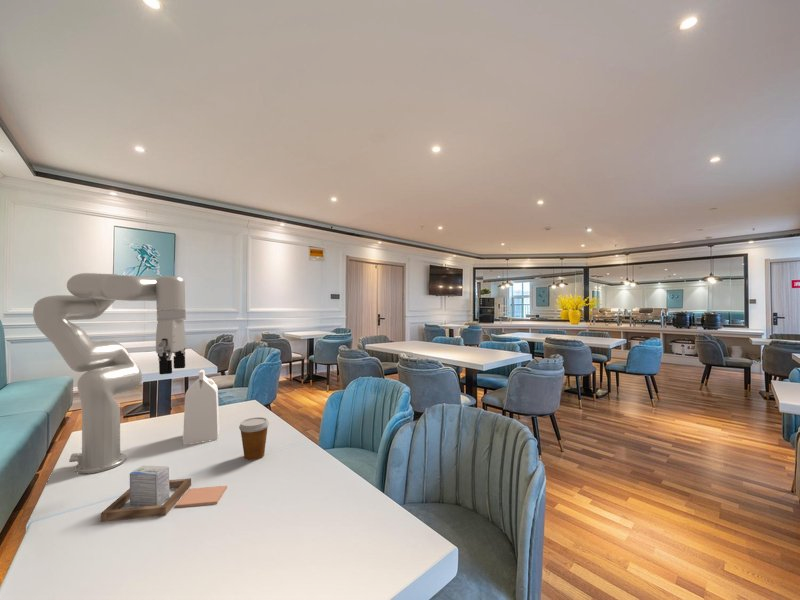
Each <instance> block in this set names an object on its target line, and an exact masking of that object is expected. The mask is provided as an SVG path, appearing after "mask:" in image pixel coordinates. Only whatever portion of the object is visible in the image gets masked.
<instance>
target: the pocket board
mask: <svg viewBox="0 0 800 600" xmlns="http://www.w3.org/2000/svg"><path fill="white" fill-rule="evenodd" d="M191 486H192V478H191V477H190V478H177V479H176V478H175V479H169V490H175V489H176V490H175V491H174V492H173V493H172V494H170V497H169V498H168V499H167V500H165V501H164V502H163V503H162V504H160V505H157V506H136V507H128V508H127V507H126V508H124V507H123V506H124V505H125V504H126V503H128V502H130V487H129V488H128V489H127V490H126V491H125V492H124V493H122V494H121V495H120V496H119V497H118V498H117V499H116V500H115V501H113V502H112V503H110V504H109V506H107V508H105V509H104V510H102V512H100V522H109V521H119V520H120V521H121V520H131V519H141V518H142V519H143V518H152V517H162V516H167V515H168V513H169V512H170V511H171V510H172V509H173V508H174V507H175V506H176V504H177V503H178V502H179V500H180V499H181V498H182V497H183V496H184V494H185V493H186V492H187V491H188V490H189V489H190V487H191Z"/></svg>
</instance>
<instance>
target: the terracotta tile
mask: <svg viewBox="0 0 800 600" xmlns="http://www.w3.org/2000/svg"><path fill="white" fill-rule="evenodd" d="M227 489H228V485H219V486H207V487H197V488H196V487H195V488H188V490H187V491H186V492H185V493H184V494H183V496H182V497H181V498H180V499H179V500H178V501H177V503H176V504H175V508H184V507H195V506H207V505H215V504H216V505H217V504H218V503H219V501H220V500H221V498H222V497H223V495H224V493H225V491H227Z"/></svg>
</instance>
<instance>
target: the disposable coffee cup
mask: <svg viewBox="0 0 800 600" xmlns="http://www.w3.org/2000/svg"><path fill="white" fill-rule="evenodd" d="M269 425H270V422H269V420H268V418H266V417H258V416H257V417H251V418H246V419H244V420H242V421H241V422H240V423H239V426H238V428H239V431H240V436H241V441H242V449H243V456H244V457H243V458H244V460H245V461H256V460H259V459H262V458H263V457H264V456H265V452H266V451H265V450H266V444H267V436H268V435H267V433H268V428H269Z"/></svg>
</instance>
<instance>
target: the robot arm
mask: <svg viewBox="0 0 800 600" xmlns="http://www.w3.org/2000/svg"><path fill="white" fill-rule="evenodd" d="M185 285H186V283H185V279H184V278H183V277H181V276H175V275H172V276H171V275H166V276H165V275H164V276H159V277H156V276H155V277H152V276H143V275H142V276H140V275H122V274H120V275H119V274H116V273H97V272H96V273H95V272H94V273H93V272H83V273H82V272H80V273H77V274H74V275H73V276H71V277H70V278H69V279H68V280H67V282H66V289H67V290H68V292H69V293H70V294H71V295H68V294H67V295H65V294H64V295H63V294H61V295H57V294H55V295H50V296H44V297H42V298H39V299H38V300H37V301H36V302H35V304H34V306H33V310H32V316H33V321H34V324H35V325H36V327H37V329H38V330H39V331H40V332H41V333H42V334H43V335H44V336H45V337H46V338H47V339H48V340H49V341H50V342H51V343H52V344H53V345H54V347H55V348H56V350H57V352H58V353H59V355H60V356H61V357H62V358H63V360H64V362H65V363H66V365H67V366H68V367H69V368H70V369H71V370H73V371H74V372H76V373H83V374H82V375H81V376H79V379H78V380H77V384H76V385H77V386H76V387H77V392H78V395H79V400H80V405H81V452H74V453H73V452H72V453H71V455H70V457H69V459H68V461H69V463H73V462H74V463H75V462H77V465H76V466H75V470H76V471H75V472H76V473H77V472H78V474H81V473H88V474H95V472H96V473H100V471H101V472H105V471H107V470H110V469H114V468H116V467H118V466H121V465H122V464H123V463H125V461H126V460H127V455H126V453H125V454H124V453H121V407H120V404H119V402H118V401H116V399H115V398H114V395H117V394H121V393H124V392H128V391H131V390H135V389H136V388H137V387H139V386H140V385H141V384H142V380H143V373H142V370H141V368H140V367H139V366H138V364H137V363H136V361H135V360H134V359H133V357H132V356H131V354H130V353H129V352H128V350H127V349H126V348H125V347H124V346H123V344H121V343H120V342H118V341H115V340H103V341H101V340H100V341H95V340H92V338H90V337H89V336H88V333H86V331H85V330H84V329H83V328H81V327H80V326H79V325H76V324H74V323H73V322H70V321H79V320H81V321H83V320H92V319H93V320H94V319H96V318H99V317H100V316H101V315H103V313H104V312H105V311H106V310H107V309H109V307H110V306H111V305H112V304H113V303H114V302H115V301H129V302H131V301H132V302H135V301H136V302H138V301H141V302H143V301H144V302H145V301H146V302H156V322H157V323H156V332H155V353H156V354H157V357H158V366H159V367H158V368H159V371H158V372H159V375H170V374H171V375H172V373H173V369H175V370H176V369H184V368H186V344H187V343H186V329H185V322H184V321H186V317H187V316H186V315H187V314H186V287H185ZM173 354H174V356H172V355H173ZM172 357H173V359H171V358H172Z"/></svg>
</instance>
